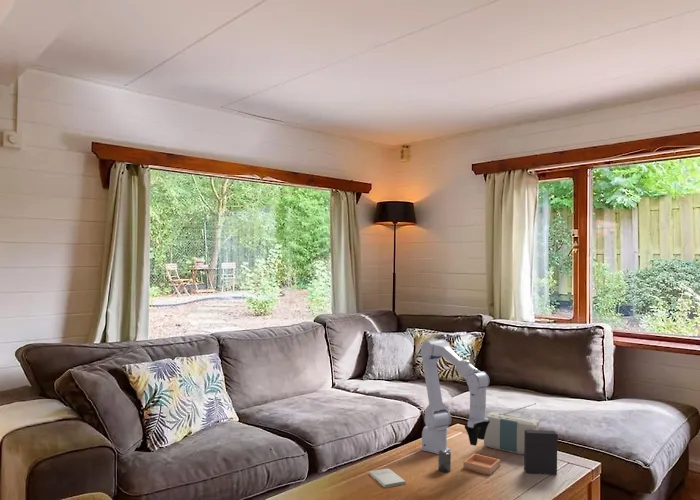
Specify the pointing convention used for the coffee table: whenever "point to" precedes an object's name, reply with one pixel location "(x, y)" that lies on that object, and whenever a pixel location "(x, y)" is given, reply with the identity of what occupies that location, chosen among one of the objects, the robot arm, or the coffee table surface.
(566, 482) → the coffee table surface
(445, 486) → the coffee table surface
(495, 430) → the stereo radio cassette player
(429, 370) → the robot arm
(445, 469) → the cell
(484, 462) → the dish
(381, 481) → the external hard drive
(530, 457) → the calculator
